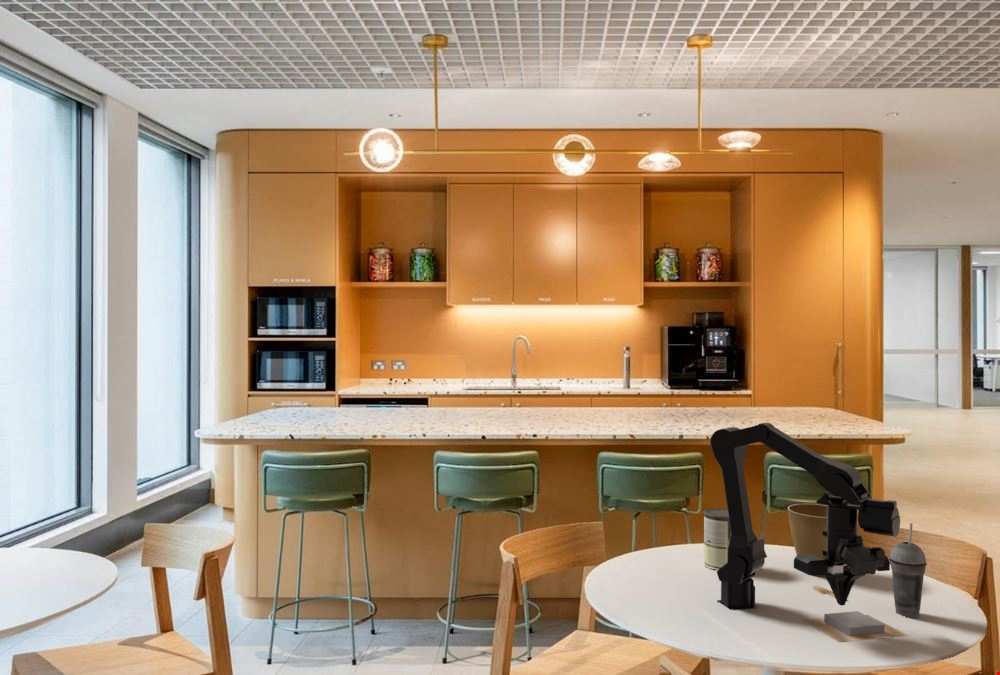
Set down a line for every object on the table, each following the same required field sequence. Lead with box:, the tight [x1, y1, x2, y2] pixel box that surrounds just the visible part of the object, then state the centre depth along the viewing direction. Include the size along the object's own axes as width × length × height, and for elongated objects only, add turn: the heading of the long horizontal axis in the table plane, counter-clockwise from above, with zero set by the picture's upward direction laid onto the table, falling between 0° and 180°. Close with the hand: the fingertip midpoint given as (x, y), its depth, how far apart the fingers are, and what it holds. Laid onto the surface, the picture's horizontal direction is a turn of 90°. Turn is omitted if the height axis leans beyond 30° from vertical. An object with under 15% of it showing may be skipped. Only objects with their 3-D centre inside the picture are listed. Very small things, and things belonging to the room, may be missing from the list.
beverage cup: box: [888, 522, 928, 618], centre depth 172 cm, size 7×7×20 cm
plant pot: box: [787, 503, 838, 577], centre depth 202 cm, size 15×15×16 cm
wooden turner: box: [812, 585, 848, 602], centre depth 180 cm, size 16×5×1 cm, turn 14°
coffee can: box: [703, 507, 731, 571], centre depth 207 cm, size 10×10×14 cm
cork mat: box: [801, 614, 910, 643], centre depth 162 cm, size 16×12×1 cm
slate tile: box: [823, 610, 885, 636], centre depth 162 cm, size 2×8×8 cm
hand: (841, 604), depth 161 cm, fingers closed
